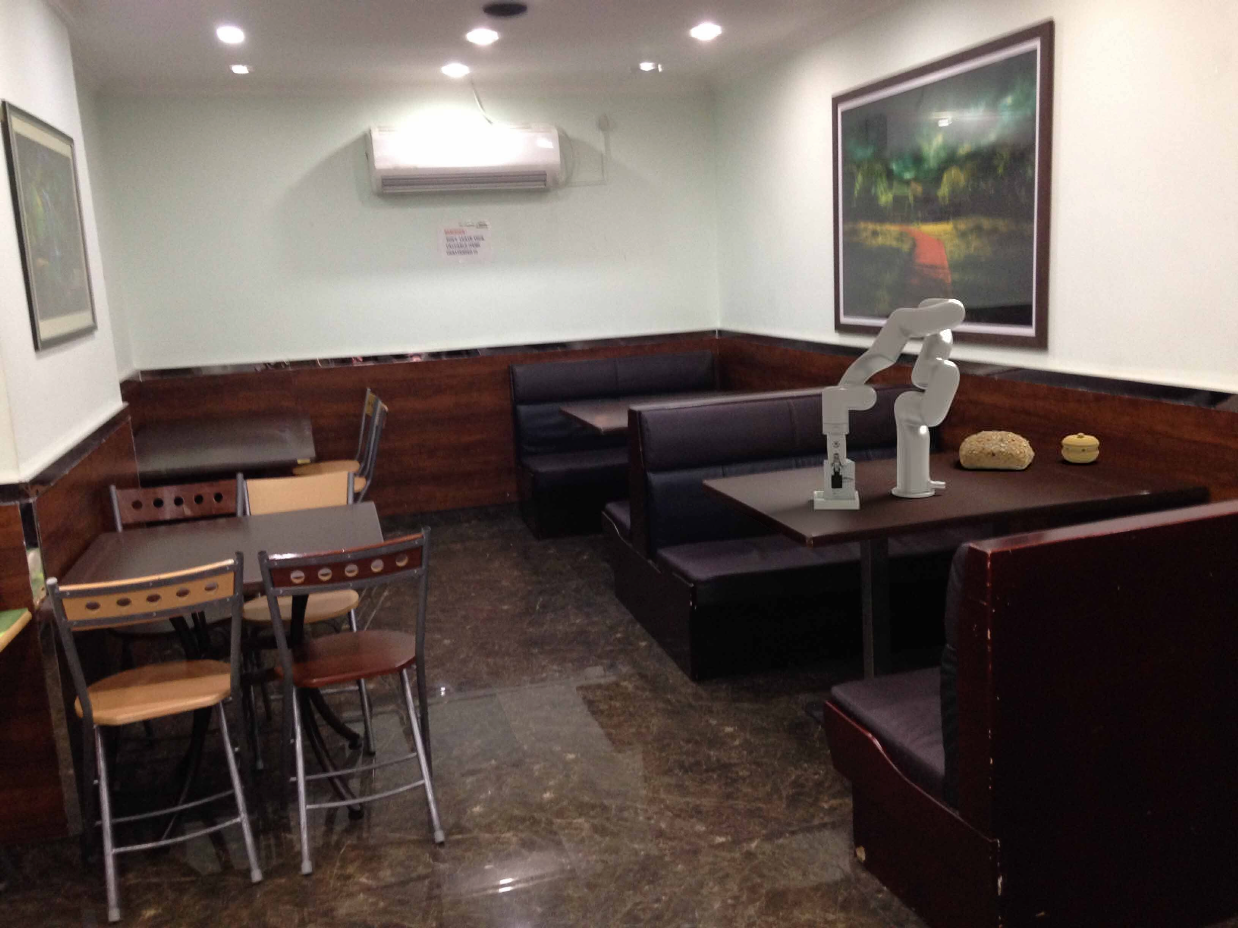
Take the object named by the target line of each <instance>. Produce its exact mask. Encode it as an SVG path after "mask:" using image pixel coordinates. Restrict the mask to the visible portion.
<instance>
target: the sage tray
mask: <svg viewBox="0 0 1238 928" xmlns="http://www.w3.org/2000/svg"><path fill="white" fill-rule="evenodd" d="M813 510H860V499H859V493H858V490H855V500H824V490H817V491H816V490H815V491H814V490H813Z"/></svg>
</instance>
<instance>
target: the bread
mask: <svg viewBox="0 0 1238 928" xmlns="http://www.w3.org/2000/svg"><path fill="white" fill-rule="evenodd" d="M1029 441H1030V440H1027V439H1026V438H1024V437H1022V436H1021V435H1020V434H1015V433H1013V432H1011V431H1010V432H1009V431H1006V430H1005V431H1003V430H1002V431H998V430H997V429H996V430H991V431H989V430H988V431H985V430H982V431H981V432H978V433H975V434H971V435H970V436H968V437H966V439H963V441H962V442H961V445H960V446H959V449H958V451H959V452H958V454H959V461H960V464H961V465H962V467H964V468H966V469H971V470H973V469H974V470H975V469H976V470H977V469H981V470H994V469H995V470H1015V471H1017V470H1018V471H1019V470H1020V471H1021V470H1024V469H1026V468H1027V467H1028V465H1029V464H1030V463H1031V462H1032V461H1033V459H1034V456H1035V452H1034V451H1033V448H1032V446H1030V444H1029V443H1030V442H1029Z"/></svg>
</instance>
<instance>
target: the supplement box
mask: <svg viewBox="0 0 1238 928" xmlns="http://www.w3.org/2000/svg"><path fill="white" fill-rule="evenodd" d="M832 465H835V463H833V464H832ZM839 465H840V463H839ZM831 475H832V468H831V467H830V466H829V460H828V459H824V460H823V491H824V500H855V491H856V487H855V486H856V461H852V460H851V459H849V458H847V457H846V467H844V466H842V465H841V475H842V488H834V489H833V488H831Z"/></svg>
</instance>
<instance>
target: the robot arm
mask: <svg viewBox="0 0 1238 928" xmlns="http://www.w3.org/2000/svg"><path fill="white" fill-rule="evenodd" d="M965 317H966V309H965V307H964V305H963V303H962V302H961V301H959V300H957V299H953V298H939V297H938V298H934V297H933V298H927V299H924V300H921V302H920V303H919V304H918V306H917V307H916V308H914V307H913V308H912V307H900V308H897V309H895V310H893V311H892V312H891V314H890V315H889V316H888V318H887V320H886V322H885V323H884V324H883V326H882V328H881V330H880V331H879V333H878V335H877V336H876V337H875V339H874V341H873V343H871V346H870V347H869V349H868V350H867V351H865V352H864V353H863V354H862V355H861V356H859V357H858V358H857V359H856V360H855V361H854V362H852V364H851V365H849V366H848V368H847V369H846V371H845V373H843V376H842V377H841V379H840V381H839V382H838V384H837V385H835V386H834V385H833V386H826V387H824V388H823V389H822V392H821V400H822V402H821V403H822V407H821V408H822V411H821V412H822V413H821V415H822V434H823V435H826V439H827V440H826V442H827V443H826V446H827V447H826V448H827V460H829V466H830V467H831V468H832V475H831V488H833V489H834V488H842V475H841V465H842V466H844V467H846V458H847V445H846V444H847V443H846V442H847V441H846V435H848V434H849V432H850V430H849V423H850V422H849V411H852V410H855V411H864V410H865V411H866V410H869V409H871V408H872V407H873V406H874V405H875V404H876V402H877V397H878V395H877V392H876V391H875V389H874V388H873V387H871V386H870V385H867V384H865V383H866V382H867V381H868V380H869V379H870V377H872V376H873V375H875V374H876V373H878V372H880V371H882V370H884V369H887V368H889V367H891V366H893V365H894V364H895V363H896V362H897V360H898V358H899V357H900V355H901V354H902V352H903V350H904V348H905V347H906V345H907V344H908V343H909V340H910V339H911V338H918V339H919V338H923V343H922V346H921V349H920V351H919V354H918V357H917V359H916V361H915V364H914V366H913V369H912V371H911V377H910V378H911V382H912V384H913V385H914V386H915V387H917V388H919V389H921V390H922V389H923V390H925V391H924V392H921V391H915V390H914V391H913V390H912V391H911V390H909V391H905V392H903V393H901V394H899V396H898V397H897V398H896V400H895V402H894V407H893V408H894V409H893V411H894V418H895V423H896V436H897V441H896V442H897V444H896V448H897V449H896V450H897V451H896V452H897V454H896V462H897V463H896V467H897V469H896V474H897V475H896V486H895V487H894V488H892V489H891V493H892V495H894V496H897V497H901V498H915V499H916V498H918V499H919V498H928V497H931V496H933V495H935V489H946V482H945V481H940V480H931V477H930V444H931V443H930V442H931V441H930V440H931V438H930V431H929V428H930V427H931V428H932V427H937V426H938V425H940V424H941V423H943V420H944V419H945V418H946V416H947V415H948V412H949V409H950V407H951V405H952V402H953V400H954V397H955V395H956V392H957V390H958V387H959V383H960V377H961V376H960V371H959V370H960V369H959V368H958V366H957V365H956V364H955V363H954V362H953V361H950V360H949V358H950V355H951V353H952V349H953V344H954V340H953V339H954V338H953V333H952V329H954V328H956V327H958V326H959V325H961V324H962V323H963V321H964V319H965ZM833 463H835V465H832V464H833ZM839 463H840V465H839Z"/></svg>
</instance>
